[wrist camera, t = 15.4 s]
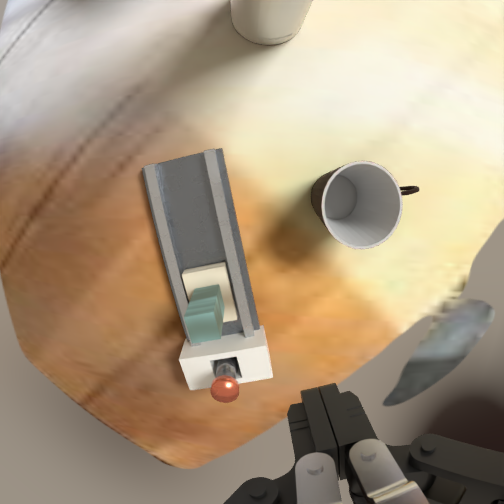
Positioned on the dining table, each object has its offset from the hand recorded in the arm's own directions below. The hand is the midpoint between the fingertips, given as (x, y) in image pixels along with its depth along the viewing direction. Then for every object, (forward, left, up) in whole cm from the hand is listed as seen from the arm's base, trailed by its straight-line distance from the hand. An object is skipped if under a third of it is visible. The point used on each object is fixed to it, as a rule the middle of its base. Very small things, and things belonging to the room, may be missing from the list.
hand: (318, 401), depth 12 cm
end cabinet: (+13, -8, -29) cm, 33 cm away
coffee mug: (-4, +11, -29) cm, 31 cm away
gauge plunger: (+13, -8, -28) cm, 32 cm away
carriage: (+4, -8, -28) cm, 29 cm away
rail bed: (+1, -8, -29) cm, 30 cm away
